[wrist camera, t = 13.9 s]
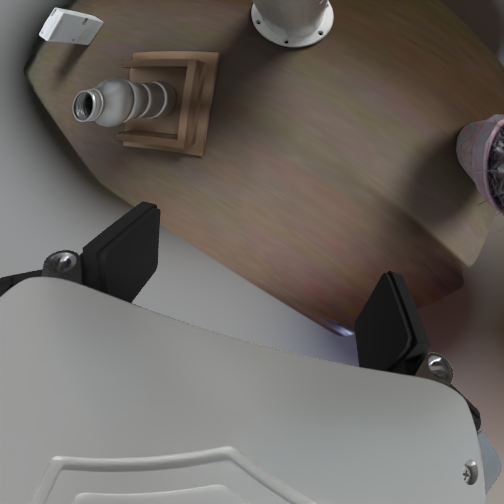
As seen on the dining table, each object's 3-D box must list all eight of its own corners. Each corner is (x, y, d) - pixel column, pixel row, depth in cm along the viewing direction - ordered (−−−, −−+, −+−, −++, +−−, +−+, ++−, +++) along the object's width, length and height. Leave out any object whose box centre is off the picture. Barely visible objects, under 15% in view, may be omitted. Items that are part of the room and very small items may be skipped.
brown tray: (136, 53, 37) (117, 50, 31) (220, 53, 36) (208, 47, 31) (126, 144, 46) (108, 151, 41) (204, 155, 45) (191, 162, 40)
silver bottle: (144, 116, 42) (62, 134, 24) (150, 80, 38) (67, 79, 21) (176, 120, 41) (101, 137, 24) (183, 82, 38) (108, 76, 21)
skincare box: (89, 45, 36) (46, 43, 25) (78, 38, 35) (37, 36, 24) (105, 21, 33) (64, 13, 22) (94, 14, 32) (53, 7, 21)
